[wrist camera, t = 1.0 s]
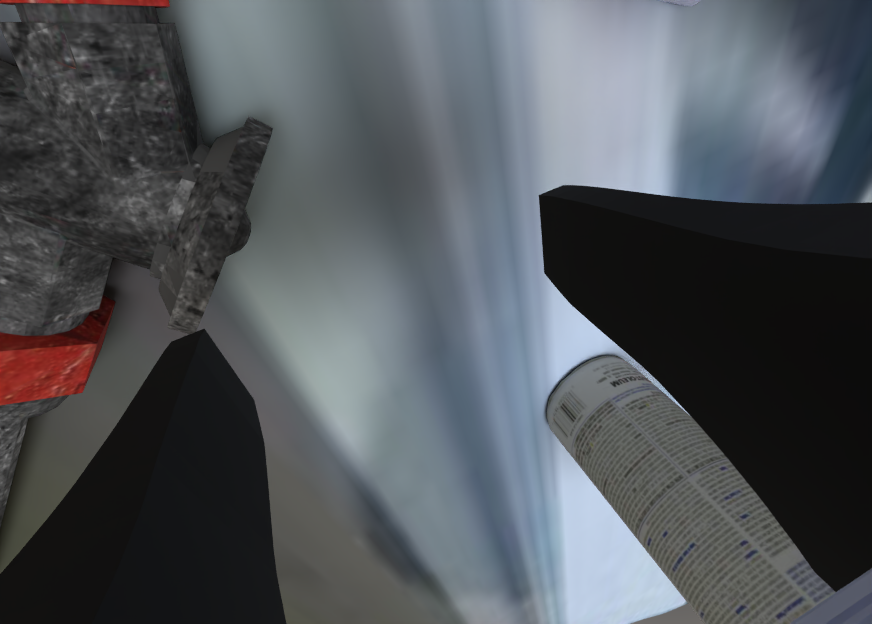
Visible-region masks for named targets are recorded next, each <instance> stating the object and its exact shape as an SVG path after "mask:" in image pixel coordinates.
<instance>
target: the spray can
mask: <svg viewBox="0 0 872 624" xmlns="http://www.w3.org/2000/svg"><path fill="white" fill-rule="evenodd" d="M547 419H548V423H549V426H550V429H551V430H552V432H553V433H554V434H555V435H556V437H557V438H558V439H559V441H560V442H561V443H562V445H563V446H564V447H565V448H566V450H567V451H568V452H569V453H570V455H571V456H572V457H573V458H574V460H575V461H576V462H577V463H578V465H579V466H580V467H581V469H582V470H583V471H584V472H585V474H586V475H587V476H588V477H589V479H590V480H591V481H592V482H593V484H594V485H595V486H596V488H597V489H598V490H599V491H600V493H601V494H602V495H603V496H604V498H605V499H606V500H607V501H608V503H609V504H610V505H611V506H612V508H613V509H614V510H615V512H616V513H617V514H618V515H619V517H620V518H621V519H622V520H623V522H624V523H625V524H626V525H627V527H628V528H629V529H630V531H631V532H632V533H633V534H634V536H635V537H636V538H637V539H638V541H639V542H640V543H641V544H642V546H643V547H644V548H645V549H646V551H647V552H648V553H649V555H650V556H651V557H652V558H653V560H654V561H655V562H656V563H657V565H658V566H659V567H660V568H661V570H662V571H663V572H664V573H665V575H666V576H667V577H668V578H669V580H670V581H671V582H672V584H673V585H674V586H675V587H676V589H677V590H678V591H679V592H680V594H681V595H682V596H683V597H684V599H685V600H686V601H687V602H688V604H689V605H690V606H691V608H692V609H693V610H694V611H695V612H696V614H697V615H698V616H699V618H700V619H701V620H702V621H703V623H704V624H790V623H791V622H793V621H794V620H796V619H797V618H799V617H800V616H802V615H803V614H804V613H806V612H807V611H809V610H810V609H812V608H813V607H815V606H816V605H818V604H819V603H821V602H822V601H824V600H825V599H827V598H828V597H830V596H831V595H833V594H834V593H836V592H835V591H834V590H833V589H832V588H831V587H830V586H829V585H828V584H827V583H825V582H824V581H823V580H822V579H821V578H820V577H819V576H818V575H817V574H816V573H815V572H814V571H813V569H812V568H811V566H810V565H809V564H808V562H807V561H806V559H805V558H804V557H803V555H802V554H801V552H800V551H799V550H798V548H797V547H796V545H795V544H794V543H793V541H792V540H791V539H790V537H789V536H788V535H787V533H786V532H785V531H784V530H783V528H782V527H781V526H780V524H779V523H778V522H777V520H776V519H775V518H774V516H773V515H772V514H771V512H770V511H769V510H768V508H767V507H766V506H765V504H764V503H763V502H762V500H761V499H760V498H759V496H758V495H757V494H756V493H755V492H754V490H753V489H752V488H751V487H750V485H749V484H748V483H747V482H746V481H745V479H744V478H743V477H742V476H741V474H740V473H739V472H738V471H737V469H736V468H735V467H734V466H733V465H732V463H731V462H730V461H729V460H728V458H727V457H726V456H725V455H724V454H723V452H722V451H721V450H720V449H719V448H718V447H717V445H716V444H715V443H714V442H713V441H712V440H711V439H710V437H709V436H708V435H707V434H706V433H705V432H704V431H703V429H702V428H701V427H700V426H699V425H698V424H697V423H696V421H695V420H694V419H693V418H692V417H691V416H690V415H688V414H687V413H686V412H685V411H684V410H683V409H682V408H680V407H679V406H678V405H677V404H676V403H675V402H673V401H672V400H671V399H670V398H669V397H668V396H667V395H666V394H664V393H663V392H662V391H661V390H660V389H658V388H657V387H656V386H655V385H654V384H653V383H651V382H650V381H649V380H648V379H647V378H646V377H645V376H644V375H642V374H641V373H640V372H639V371H638V370H637V369H635V368H634V367H633V366H632V365H630V364H629V363H628V362H626V361H624V360H622V359H621V358H619V357H617V356H602V357H598V358H594V359H591V360H589V361H588V362H586V363H584V364H582V365H580V366H579V367H577V368H576V369H575V370H574V371H573V372H572V373H571V374H570V375H569V376H567V377H566V378H565V379H564V380H562V381H561V383H560V384H559V385H558V387H557V388H556V390H555V391H554V392H553V394H552V395H551V397H550V398H549V402H548V408H547Z"/></svg>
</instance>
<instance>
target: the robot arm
mask: <svg viewBox="0 0 872 624" xmlns="http://www.w3.org/2000/svg"><path fill="white" fill-rule="evenodd" d="M659 1H664V2H668V3H673V4H678V5H682V6H694V5H696V4H697V3H699V1H700V0H659ZM539 203H540V217H541V231H542V245H543V259H544V273H545V274H546V276H547V277H548V278H549V279H550V280H551V282H552V283H553V284H554V285H555V287H556V288H557V289H558V290H559V291H560V293H561V294H562V295H563V296H564V297H565V298H566V299H567V300H568V302H569V303H570V304H571V305H572V306H573V307H575V308H576V309H577V310H578V311H579V312H580V313H581V314H582V315H584V316H585V317H586V318H587V319H588V320H589V321H590V322H592V323H593V324H594V325H595V326H596V327H597V328H598V329H600V330H601V331H602V332H603V333H604V334H605V335H607V336H608V337H609V338H610V339H611V340H612V341H614V342H615V343H616V344H617V345H618V346H619V347H621V348H622V349H623V350H624V351H625V352H626V353H628V354H629V355H630V356H631V357H632V358H633V359H635V360H636V361H637V362H638V363H639V364H640V365H641V366H643V367H644V368H645V369H646V370H647V371H648V372H649V373H650V374H651V375H652V376H653V377H654V378H655V379H656V380H658V382H659V383H660V384H661V385H662V386H663V387H664V388H665V389H666V390H667V391H668V392H669V393H670V394H671V395H672V396H673V398H674V399H675V400H676V401H677V402H678V403H679V404H680V405H681V406H682V407H683V408H684V409H685V410H686V411H687V412H688V414H689V415H690V416H691V417H692V418H693V419H694V420H695V421H696V423H697V424H698V425H699V426H700V427H701V428H702V429H703V431H704V432H705V433H706V434H707V435H708V436H709V437H710V439H711V440H712V441H713V442H714V443H715V444H716V445H717V447H718V448H719V449H720V450H721V451H722V452H723V454H724V455H725V456H726V457H727V458H728V460H729V461H730V462H731V463H732V465H733V466H734V467H735V468H736V469H737V471H738V472H739V473H740V474H741V476H742V477H743V478H744V479H745V481H746V482H747V483H748V484H749V485H750V487H751V488H752V489H753V490H754V492H755V493H756V494H757V495H758V496H759V498H760V499H761V500H762V502H763V503H764V504H765V506H766V507H767V508H768V510H769V511H770V512H771V514H772V515H773V516H774V518H775V519H776V520H777V522H778V523H779V524H780V526H781V527H782V528H783V530H784V531H785V532H786V533H787V535H788V536H789V537H790V539H791V540H792V541H793V543H794V544H795V545H796V547H797V548H798V550H799V551H800V552H801V554H802V555H803V557H804V558H805V559H806V561H807V562H808V564H809V565H810V566H811V568H812V569H813V571H814V572H815V573H816V574H817V575H818V576H819V577H820V578H821V579H822V580H823V581H824V582H825V583H827V584H828V585H829V586H830V587H831V588H832V589H833V590H834V591H835V592H836V593H834V594H833V595H831V596H830V597H828V598H827V599H825V600H824V601H822V602H821V603H819V604H818V605H816V606H815V607H813V608H812V609H810V610H809V611H807V612H806V613H804V614H803V615H802V616H800V617H799V618H797V619H796V620H794V621H793V622H791V623H790V624H872V203H845V204H761V203H738V202H723V201H712V200H700V199H689V198H680V197H671V196H662V195H654V194H646V193H639V192H631V191H623V190H616V189H608V188H599V187H590V186H576V185H563V186H561V187H558V188H556V189H553V190H551V191H548V192H546V193H543V194H541V195H539ZM0 624H286V620H285V614H284V609H283V604H282V599H281V594H280V589H279V584H278V579H277V573H276V565H275V557H274V549H273V537H272V525H271V513H270V501H269V489H268V478H267V467H266V456H265V446H264V440H263V435H262V431H261V427H260V422H259V418H258V414H257V410H256V406H255V402H254V399H253V398H252V396H251V395H250V393H249V392H248V391H247V389H246V388H245V386H244V385H243V383H242V382H241V381H240V379H239V378H238V376H237V375H236V373H235V372H234V370H233V369H232V368H231V366H230V365H229V363H228V362H227V360H226V359H225V358H224V356H223V355H222V353H221V352H220V350H219V349H218V348H217V346H216V345H215V343H214V342H213V340H212V339H211V337H210V336H209V335H208V333H207V332H206V330H205V329H202V330H200V331H197V332H195V333H192V334H190V335H187V336H185V337H182V338H180V339H177V340H175V341H172V342H171V343H170V344H169V346H168V347H167V348H166V349H165V351H164V352H163V354H162V355H161V357H160V358H159V360H158V361H157V363H156V364H155V366H154V367H153V369H152V371H151V372H150V374H149V375H148V377H147V378H146V380H145V382H144V383H143V385H142V386H141V388H140V389H139V391H138V393H137V394H136V396H135V397H134V399H133V400H132V402H131V403H130V405H129V406H128V408H127V410H126V411H125V413H124V414H123V416H122V417H121V419H120V420H119V422H118V423H117V425H116V426H115V428H114V429H113V431H112V432H111V434H110V435H109V436H108V438H107V439H106V441H105V442H104V444H103V445H102V446H101V448H100V449H99V451H98V452H97V453H96V455H95V456H94V458H93V459H92V460H91V462H90V463H89V465H88V466H87V467H86V469H85V470H84V472H83V473H82V474H81V476H80V477H79V479H78V480H77V481H76V483H75V484H74V486H73V487H72V488H71V489H70V491H69V492H68V493H67V495H66V496H65V497H64V499H63V500H62V501H61V502H60V504H59V505H58V506H57V507H56V509H55V510H54V511H53V512H52V514H51V515H50V516H49V518H48V519H47V520H46V521H45V522H44V524H43V525H42V526H41V527H40V528H39V529H38V531H37V532H36V533H35V534H34V535H33V537H32V538H31V539H30V540H29V541H28V543H27V544H26V545H25V546H24V547H23V549H22V550H21V551H20V552H19V553H18V555H17V556H16V557H15V558H14V559H13V560H12V561H11V563H10V564H9V565H8V566H7V567H6V568H5V569H4V571H3V572H2V573H1V574H0Z"/></svg>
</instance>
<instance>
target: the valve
mask: <svg viewBox="0 0 872 624" xmlns="http://www.w3.org/2000/svg"><path fill="white" fill-rule="evenodd" d="M0 4H8V5H15V6H16V8H17V11H18V13H19V16H20V19H21V21H22V22H0V28H1V30H2V32H3V34H4V37H5V39H6V41H7V43H8V46H9V48H10V50H11V52H12V54H13V57H14V59H15V61H16V63H17V66H18V68H17V67H15V66H12V65H10V64H8V63H6V62H4V61H2V60H0V527H1V523H2V519H3V515H4V511H5V507H6V503H7V499H8V495H9V492H10V488H11V484H12V480H13V476H14V472H15V468H16V464H17V460H18V456H19V452H20V448H21V444H22V441H23V437H24V433H25V429H26V425H27V421H28V418H30V417H34V416H38V415H42V414H44V413H46V412H48V411H50V410H52V409H54V408H56V407H58V406H59V405H60V404H61V403H62V402H63V401H64V400H65V399H66V398H67V397H68V396H69V395H71V394H77V393H82V392H83V390H84V388H85V385H86V383H87V381H88V378H89V376H90V373H91V371H92V369H93V366H94V364H95V362H96V359H97V357H98V355H99V352H100V350H101V347H102V344H103V341H104V338H105V334H106V331H107V328H108V325H109V321H110V318H111V315H112V312H113V308H114V305H115V301H113V300H111V299H110V298H108V297H106V296H104V295H103V292H104V289H105V285H106V281H107V277H108V274H109V270H110V266H111V262H112V259H113V258H116V259H119V260H123V261H126V262H129V263H132V264H135V265H138V266H141V267H144V268H147V269H150V276H152V277H155V278H158V279H161V280H160V285H159V292H160V294H161V297H162V299H163V301H164V303H165V305H166V307H167V310H168V312H169V314H170V316H171V318H170V321H169V324H168V328H169V329H173V330H177V331H180V332H184V333H187V334H192V333H195V331H196V329H197V327H198V325H199V323H200V320H201V318H202V316H203V313H204V311H205V308H206V306H207V304H208V301H209V299H210V296H211V294H212V291H213V289H214V286H215V284H216V281H217V279H218V276H219V274H220V271H221V269H222V266H223V263H224V261H225V258H226V257H227V256H229V255H231V254H233V253H235V252H237V251H239V250H241V249H242V248H243V246H244V245H245V244H246V243H247V240H248V238H249V235H250V232H251V223H250V220H249V218H248V215H247V213H246V210H245V206H246V204H247V201H248V198H249V196H250V193H251V190H252V187H253V185H254V182H255V179H256V177H257V174H258V171H259V168H260V166H261V163H262V160H263V157H264V154H265V151H266V149H267V146H268V143H269V140H270V137H271V134H272V130H273V128H271V127H269V126H267V125H265V124H263V123H261V122H259V121H257V120H255V119H253V118H251V117H248V118H247V120H246V122H245V125H244V127H241V128H239V129H237V130H234V131H232V132H230V133H227V134H225V135H223V136H221V137H218V138H217V139H216V140H215V142H214V143H213V145H212V147H211V148H209V147H207V146H205V145H204V144H203V140H202V136H201V132H200V127H199V123H198V119H197V115H196V111H195V107H194V102H193V98H192V94H191V90H190V86H189V82H188V77H187V73H186V69H185V65H184V61H183V57H182V52H181V48H180V44H179V40H178V36H177V31H176V27H175V23H159V19H158V16H157V12H156V8H166V7H170V4H169V0H0Z"/></svg>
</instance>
